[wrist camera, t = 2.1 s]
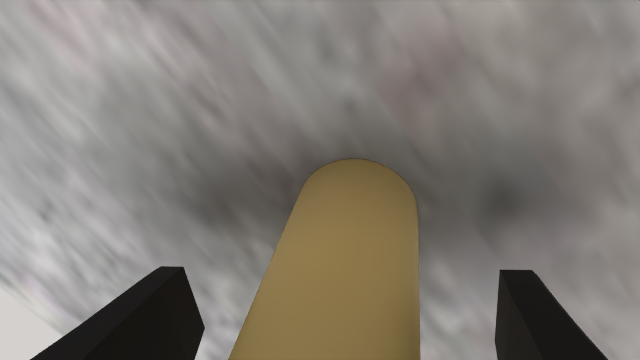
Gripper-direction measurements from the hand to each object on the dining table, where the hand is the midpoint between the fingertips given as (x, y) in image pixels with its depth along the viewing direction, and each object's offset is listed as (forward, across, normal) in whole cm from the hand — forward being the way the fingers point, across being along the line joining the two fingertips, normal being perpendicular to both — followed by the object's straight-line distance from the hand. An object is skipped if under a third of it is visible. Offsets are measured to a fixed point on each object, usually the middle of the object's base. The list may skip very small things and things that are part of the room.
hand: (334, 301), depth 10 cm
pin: (+4, 0, 0) cm, 4 cm away
